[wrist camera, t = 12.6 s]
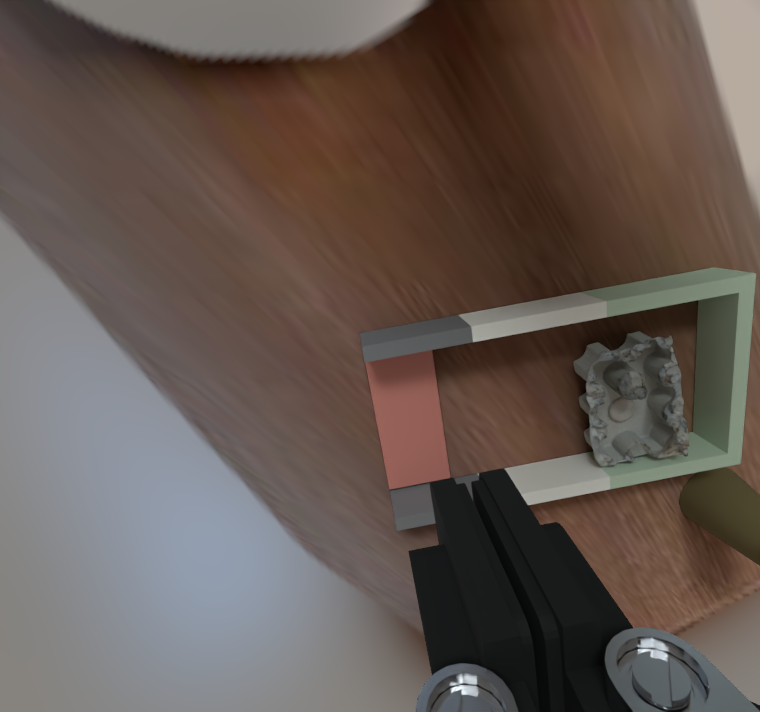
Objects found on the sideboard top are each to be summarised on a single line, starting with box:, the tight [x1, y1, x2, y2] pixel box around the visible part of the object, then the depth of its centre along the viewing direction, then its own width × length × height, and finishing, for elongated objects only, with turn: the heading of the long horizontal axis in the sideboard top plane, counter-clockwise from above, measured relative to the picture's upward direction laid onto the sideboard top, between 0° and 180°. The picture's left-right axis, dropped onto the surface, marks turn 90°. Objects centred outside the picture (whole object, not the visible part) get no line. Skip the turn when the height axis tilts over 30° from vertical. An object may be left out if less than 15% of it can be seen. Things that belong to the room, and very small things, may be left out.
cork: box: [679, 468, 760, 565], centre depth 39 cm, size 6×6×11 cm
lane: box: [360, 267, 756, 531], centre depth 37 cm, size 16×29×4 cm, turn 100°
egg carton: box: [574, 331, 689, 467], centre depth 37 cm, size 11×8×4 cm
